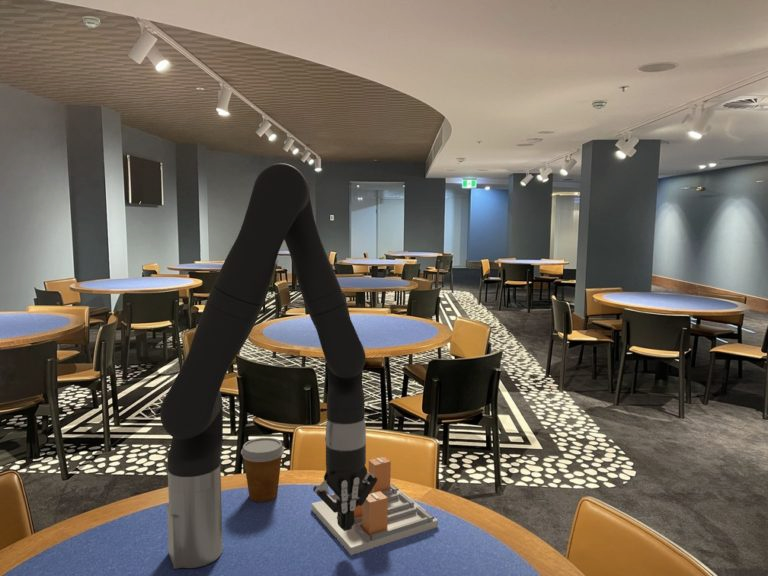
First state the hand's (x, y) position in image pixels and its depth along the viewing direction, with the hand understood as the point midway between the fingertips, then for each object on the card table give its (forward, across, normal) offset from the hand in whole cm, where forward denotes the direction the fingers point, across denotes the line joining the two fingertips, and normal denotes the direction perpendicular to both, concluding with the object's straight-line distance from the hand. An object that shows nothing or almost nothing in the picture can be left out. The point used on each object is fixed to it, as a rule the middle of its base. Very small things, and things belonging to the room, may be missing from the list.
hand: (345, 528), depth 106 cm
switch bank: (+4, +10, +7) cm, 13 cm away
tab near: (+2, +6, 0) cm, 7 cm away
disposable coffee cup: (+4, -7, +28) cm, 29 cm away
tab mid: (+2, +6, +7) cm, 10 cm away
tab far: (+2, +15, +14) cm, 21 cm away
